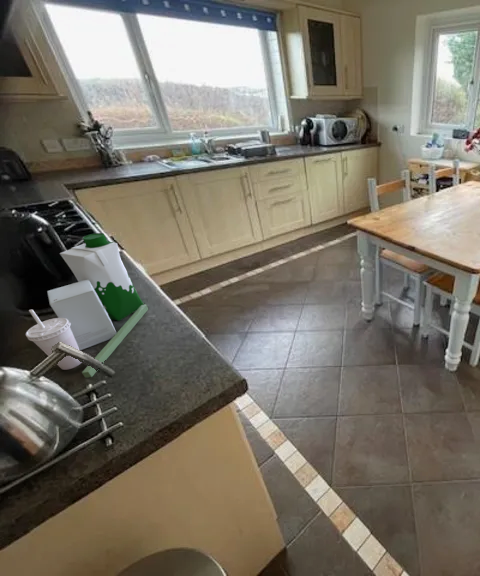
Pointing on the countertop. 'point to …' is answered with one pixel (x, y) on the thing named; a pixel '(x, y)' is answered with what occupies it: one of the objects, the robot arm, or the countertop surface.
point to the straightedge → (116, 339)
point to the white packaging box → (82, 313)
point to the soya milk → (104, 274)
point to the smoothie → (53, 337)
